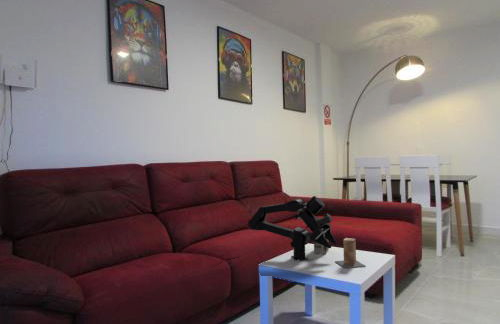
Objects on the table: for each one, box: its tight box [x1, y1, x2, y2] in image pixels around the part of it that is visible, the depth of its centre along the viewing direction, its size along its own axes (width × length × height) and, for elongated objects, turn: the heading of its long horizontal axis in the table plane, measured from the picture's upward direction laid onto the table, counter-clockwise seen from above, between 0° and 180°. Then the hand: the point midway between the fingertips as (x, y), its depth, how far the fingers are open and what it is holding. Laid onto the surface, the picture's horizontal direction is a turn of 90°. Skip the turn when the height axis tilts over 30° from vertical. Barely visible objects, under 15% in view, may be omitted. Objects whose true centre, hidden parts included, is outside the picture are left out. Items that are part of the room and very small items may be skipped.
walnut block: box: [342, 237, 357, 265], centre depth 162 cm, size 4×4×11 cm
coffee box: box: [313, 239, 330, 255], centre depth 185 cm, size 9×6×16 cm
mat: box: [334, 259, 366, 269], centre depth 163 cm, size 10×10×1 cm
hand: (333, 245), depth 166 cm, fingers open, 9 cm apart
